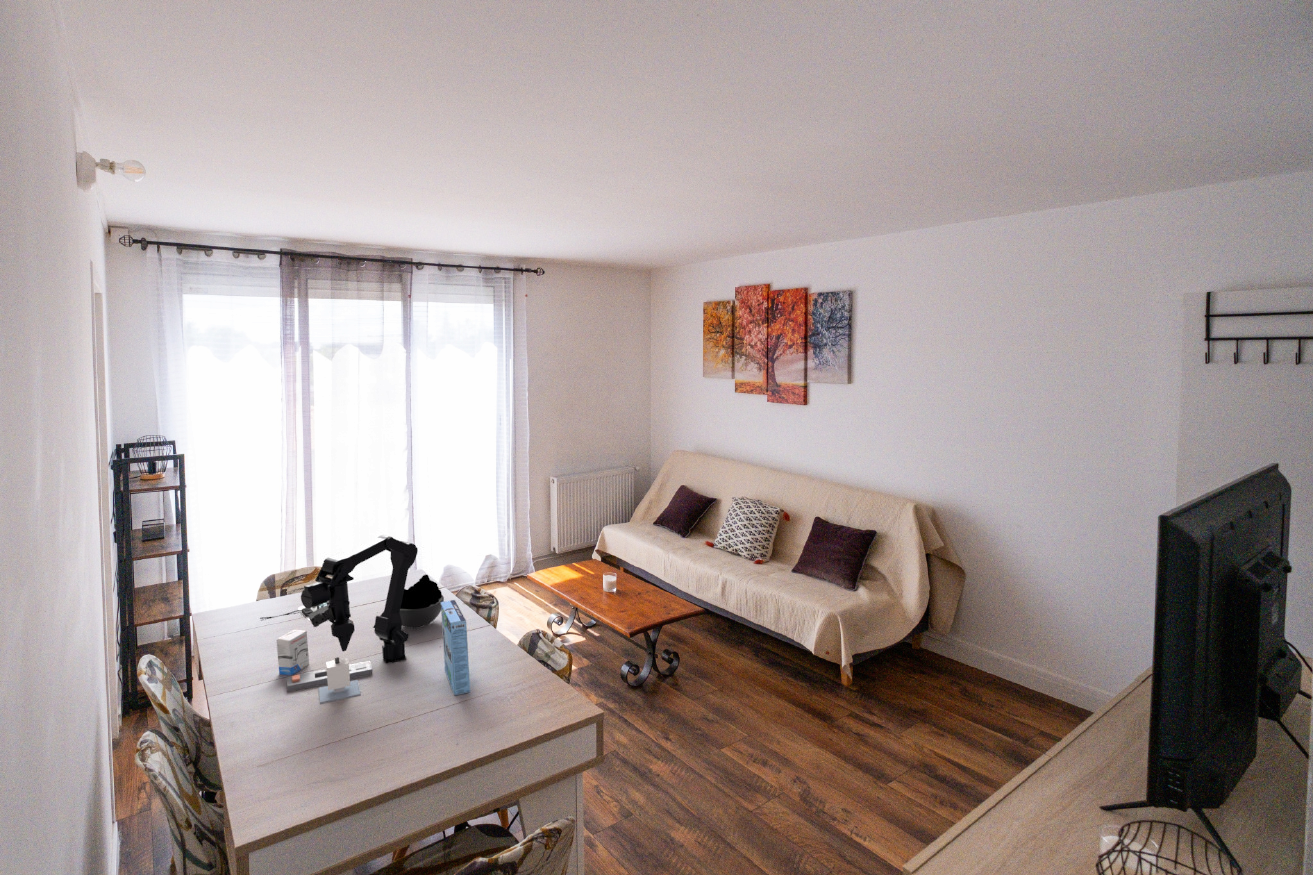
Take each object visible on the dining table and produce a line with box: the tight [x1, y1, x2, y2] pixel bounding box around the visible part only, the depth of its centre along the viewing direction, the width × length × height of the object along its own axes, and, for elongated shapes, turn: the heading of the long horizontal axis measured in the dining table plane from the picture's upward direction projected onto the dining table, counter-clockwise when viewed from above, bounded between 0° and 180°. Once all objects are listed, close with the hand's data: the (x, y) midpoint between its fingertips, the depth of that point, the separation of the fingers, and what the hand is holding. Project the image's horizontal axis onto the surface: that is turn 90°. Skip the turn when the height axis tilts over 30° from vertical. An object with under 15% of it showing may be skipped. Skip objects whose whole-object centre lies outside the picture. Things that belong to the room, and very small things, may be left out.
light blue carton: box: [440, 599, 471, 696], centre depth 219 cm, size 20×5×23 cm, turn 25°
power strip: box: [286, 660, 373, 693], centre depth 222 cm, size 24×7×3 cm, turn 117°
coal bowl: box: [400, 574, 445, 629], centre depth 262 cm, size 20×20×19 cm
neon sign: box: [259, 602, 327, 622], centre depth 275 cm, size 21×4×29 cm
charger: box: [325, 656, 351, 693], centre depth 212 cm, size 6×4×10 cm
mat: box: [318, 679, 361, 705], centre depth 213 cm, size 11×10×1 cm
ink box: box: [276, 629, 310, 676], centre depth 228 cm, size 9×5×12 cm, turn 168°
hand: (342, 645), depth 219 cm, fingers open, 9 cm apart
